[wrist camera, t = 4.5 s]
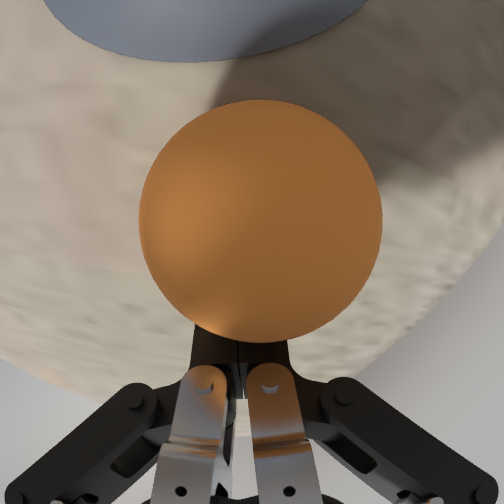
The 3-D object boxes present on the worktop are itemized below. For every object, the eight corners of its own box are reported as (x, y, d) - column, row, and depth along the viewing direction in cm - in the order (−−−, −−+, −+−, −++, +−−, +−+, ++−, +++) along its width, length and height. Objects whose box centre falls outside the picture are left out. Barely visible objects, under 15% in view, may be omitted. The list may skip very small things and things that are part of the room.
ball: (152, 403, 6) (86, 120, 3) (162, 264, 11) (148, 98, 8) (387, 369, 7) (464, 137, 4) (315, 254, 12) (333, 100, 9)
